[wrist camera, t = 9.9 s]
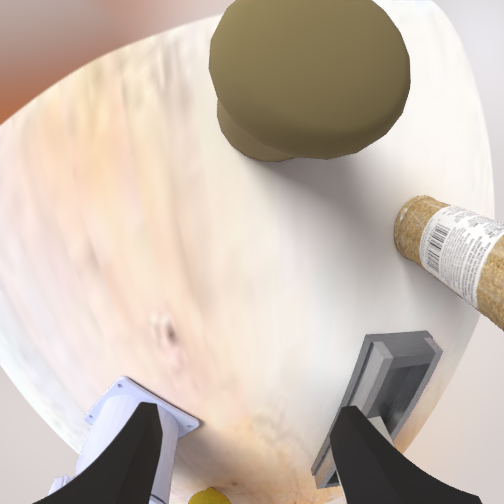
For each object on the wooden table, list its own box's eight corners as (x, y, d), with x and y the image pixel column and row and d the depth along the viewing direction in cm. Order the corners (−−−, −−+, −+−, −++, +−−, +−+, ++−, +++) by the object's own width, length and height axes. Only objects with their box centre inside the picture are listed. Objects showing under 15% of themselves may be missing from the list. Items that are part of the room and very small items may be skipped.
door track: (357, 462, 27) (364, 480, 24) (310, 469, 27) (315, 489, 24) (426, 330, 21) (444, 351, 18) (365, 334, 20) (381, 359, 17)
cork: (344, 117, 15) (480, 91, 5) (268, 184, 16) (322, 242, 6) (274, 42, 14) (323, -80, 3) (194, 108, 15) (122, 40, 4)
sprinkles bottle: (426, 266, 19) (557, 378, 6) (380, 245, 18) (532, 376, 5) (451, 209, 17) (604, 285, 5) (408, 181, 17) (593, 249, 4)
